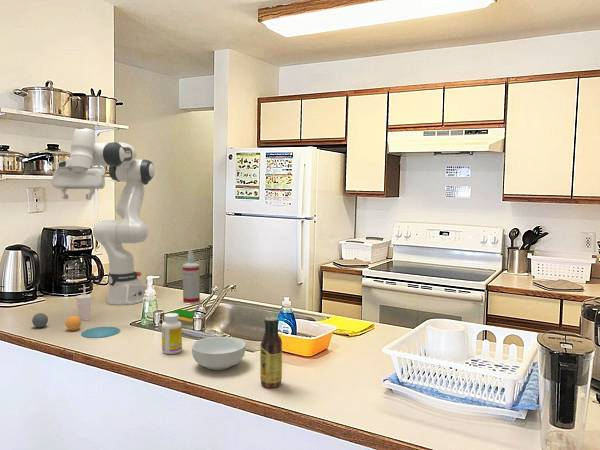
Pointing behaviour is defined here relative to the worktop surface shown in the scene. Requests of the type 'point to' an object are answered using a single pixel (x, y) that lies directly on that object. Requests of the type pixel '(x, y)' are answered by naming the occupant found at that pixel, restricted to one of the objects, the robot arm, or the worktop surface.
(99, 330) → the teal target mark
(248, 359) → the worktop surface
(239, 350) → the cereal bowl
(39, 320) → the charcoal ball
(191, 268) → the grey plastic bottle
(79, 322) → the orange ball
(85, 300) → the smoothie
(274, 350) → the sauce bottle
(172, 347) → the supplement bottle
